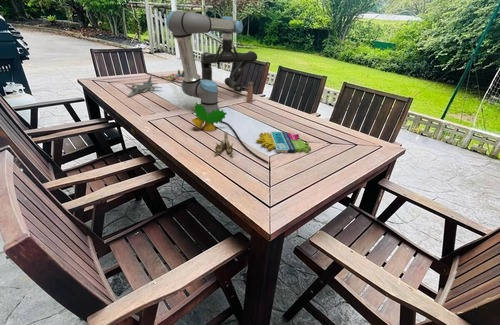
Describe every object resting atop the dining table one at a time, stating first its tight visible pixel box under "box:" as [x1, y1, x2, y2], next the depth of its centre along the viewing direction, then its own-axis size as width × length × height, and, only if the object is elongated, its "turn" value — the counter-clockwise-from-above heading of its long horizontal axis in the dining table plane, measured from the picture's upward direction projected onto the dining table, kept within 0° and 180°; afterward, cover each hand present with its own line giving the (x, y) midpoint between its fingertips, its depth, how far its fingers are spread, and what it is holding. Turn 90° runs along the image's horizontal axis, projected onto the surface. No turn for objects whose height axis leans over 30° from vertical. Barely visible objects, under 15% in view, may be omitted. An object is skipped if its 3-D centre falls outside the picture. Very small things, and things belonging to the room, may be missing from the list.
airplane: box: [126, 75, 163, 98], centre depth 227 cm, size 38×31×10 cm
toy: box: [160, 69, 185, 82], centre depth 279 cm, size 28×7×30 cm
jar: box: [246, 85, 254, 104], centre depth 218 cm, size 5×5×16 cm
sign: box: [256, 131, 312, 154], centre depth 152 cm, size 26×2×30 cm
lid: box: [246, 81, 255, 87], centre depth 215 cm, size 5×5×2 cm
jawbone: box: [214, 131, 234, 156], centre depth 136 cm, size 9×15×10 cm
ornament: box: [191, 102, 228, 132], centre depth 162 cm, size 21×8×15 cm, turn 105°
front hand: (226, 68), depth 211 cm, fingers open, 13 cm apart
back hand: (245, 91), depth 226 cm, fingers open, 8 cm apart
